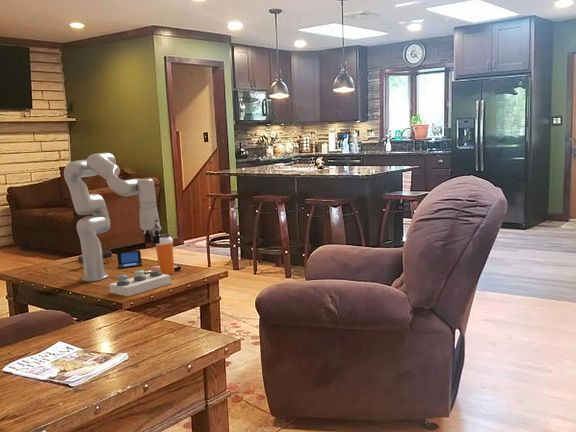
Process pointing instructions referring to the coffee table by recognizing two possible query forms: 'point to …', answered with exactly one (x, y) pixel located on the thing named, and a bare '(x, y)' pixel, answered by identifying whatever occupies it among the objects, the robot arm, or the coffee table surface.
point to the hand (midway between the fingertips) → (152, 243)
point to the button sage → (139, 272)
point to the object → (129, 259)
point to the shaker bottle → (165, 254)
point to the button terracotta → (155, 268)
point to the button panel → (140, 283)
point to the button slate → (122, 277)
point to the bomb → (105, 255)
